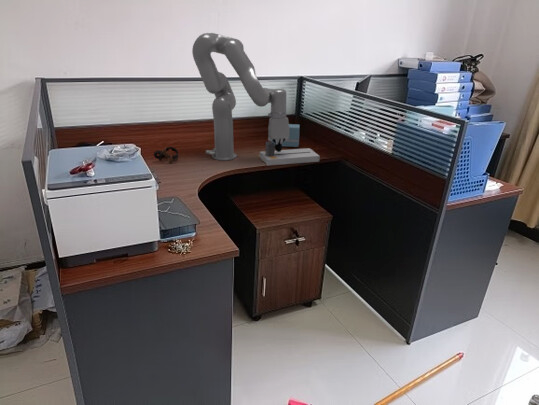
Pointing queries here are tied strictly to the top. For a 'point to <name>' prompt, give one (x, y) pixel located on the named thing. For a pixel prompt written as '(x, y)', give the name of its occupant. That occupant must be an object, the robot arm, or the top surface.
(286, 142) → the radio
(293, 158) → the panel
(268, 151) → the fader knob
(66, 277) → the top surface
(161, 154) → the dark linked rings
